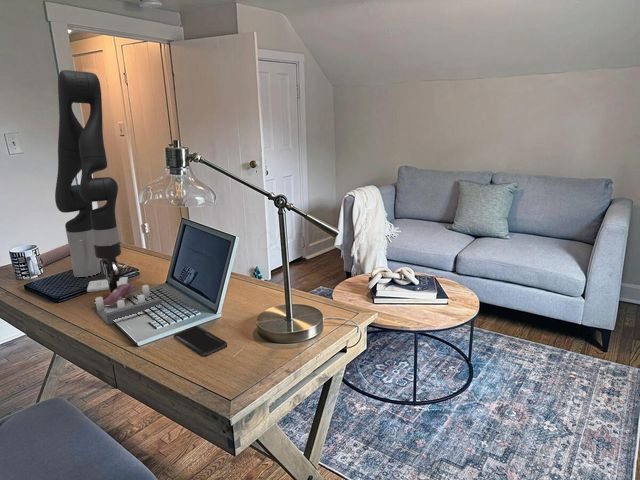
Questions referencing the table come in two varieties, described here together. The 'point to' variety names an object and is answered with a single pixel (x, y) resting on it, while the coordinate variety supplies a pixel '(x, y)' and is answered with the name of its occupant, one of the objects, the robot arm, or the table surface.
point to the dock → (128, 310)
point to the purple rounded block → (119, 293)
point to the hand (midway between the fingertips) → (113, 291)
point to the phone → (200, 341)
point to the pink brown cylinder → (54, 255)
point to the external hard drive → (104, 284)
